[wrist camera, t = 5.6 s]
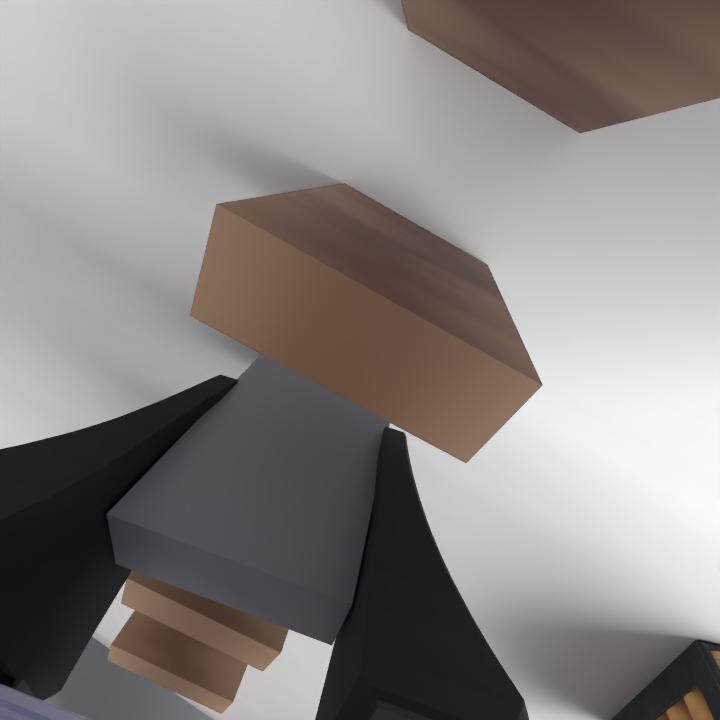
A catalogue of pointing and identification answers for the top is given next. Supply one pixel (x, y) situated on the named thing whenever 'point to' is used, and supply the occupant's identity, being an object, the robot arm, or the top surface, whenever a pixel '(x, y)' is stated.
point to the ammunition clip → (681, 689)
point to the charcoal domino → (261, 503)
